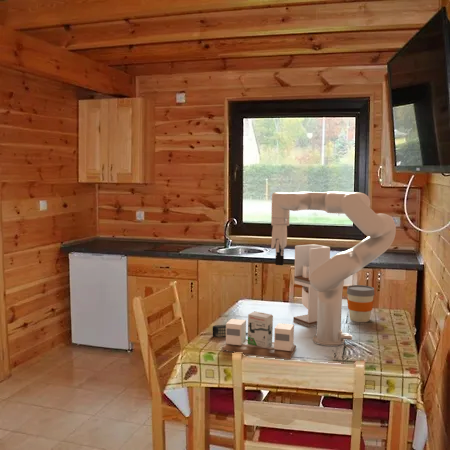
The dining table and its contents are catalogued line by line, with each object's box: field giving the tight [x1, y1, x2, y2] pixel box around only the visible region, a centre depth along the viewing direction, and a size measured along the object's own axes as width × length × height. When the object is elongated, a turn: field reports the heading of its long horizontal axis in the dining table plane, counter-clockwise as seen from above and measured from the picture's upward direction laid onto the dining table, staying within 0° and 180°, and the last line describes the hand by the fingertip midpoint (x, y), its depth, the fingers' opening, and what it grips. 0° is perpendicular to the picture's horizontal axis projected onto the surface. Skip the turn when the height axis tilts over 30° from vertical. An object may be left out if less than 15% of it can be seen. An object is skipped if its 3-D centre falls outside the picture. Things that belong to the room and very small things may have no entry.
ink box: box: [247, 310, 274, 348], centre depth 200 cm, size 9×5×12 cm, turn 56°
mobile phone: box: [212, 324, 248, 338], centre depth 218 cm, size 5×3×15 cm
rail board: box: [222, 338, 297, 360], centre depth 201 cm, size 26×12×2 cm, turn 72°
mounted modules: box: [225, 318, 295, 351], centre depth 200 cm, size 25×7×8 cm, turn 72°
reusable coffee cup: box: [346, 284, 376, 323], centre depth 244 cm, size 12×13×15 cm
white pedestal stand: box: [292, 243, 331, 328], centre depth 237 cm, size 11×11×35 cm
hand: (279, 264), depth 221 cm, fingers closed
